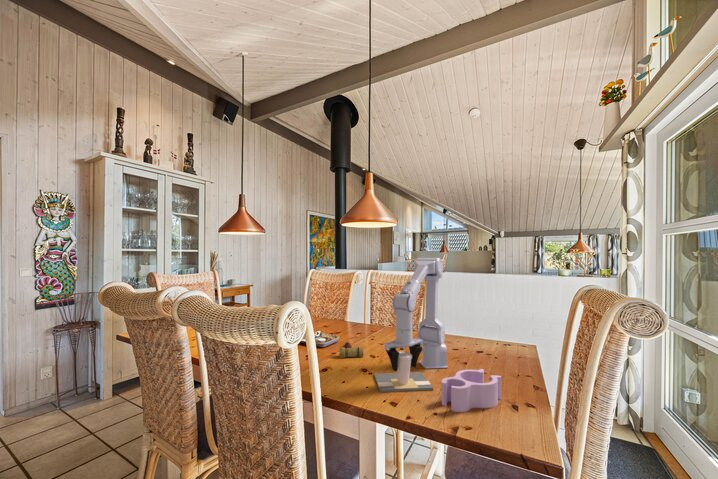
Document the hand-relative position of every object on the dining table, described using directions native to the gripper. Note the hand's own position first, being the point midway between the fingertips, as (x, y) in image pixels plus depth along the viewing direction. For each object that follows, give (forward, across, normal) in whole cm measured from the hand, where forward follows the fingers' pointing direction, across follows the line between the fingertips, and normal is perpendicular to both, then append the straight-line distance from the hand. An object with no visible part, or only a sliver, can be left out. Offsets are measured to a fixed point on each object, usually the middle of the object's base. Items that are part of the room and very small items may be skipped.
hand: (404, 368), depth 109 cm
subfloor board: (+6, -1, -3) cm, 7 cm away
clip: (+6, -13, +18) cm, 23 cm away
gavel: (+7, +2, -44) cm, 44 cm away
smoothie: (+5, 0, -1) cm, 5 cm away
